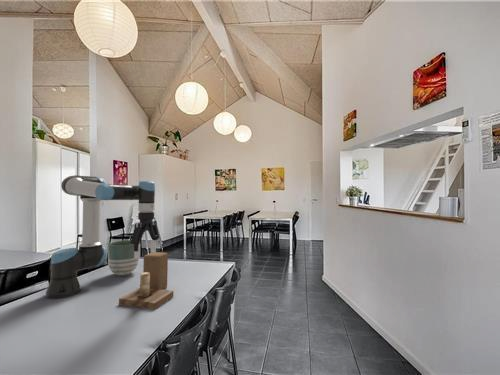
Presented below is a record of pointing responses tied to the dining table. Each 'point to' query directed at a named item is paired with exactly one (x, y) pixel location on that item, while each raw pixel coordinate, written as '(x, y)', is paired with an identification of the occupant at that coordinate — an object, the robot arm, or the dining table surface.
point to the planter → (121, 257)
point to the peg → (144, 285)
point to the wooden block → (156, 269)
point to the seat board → (151, 302)
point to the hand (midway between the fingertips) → (145, 255)
